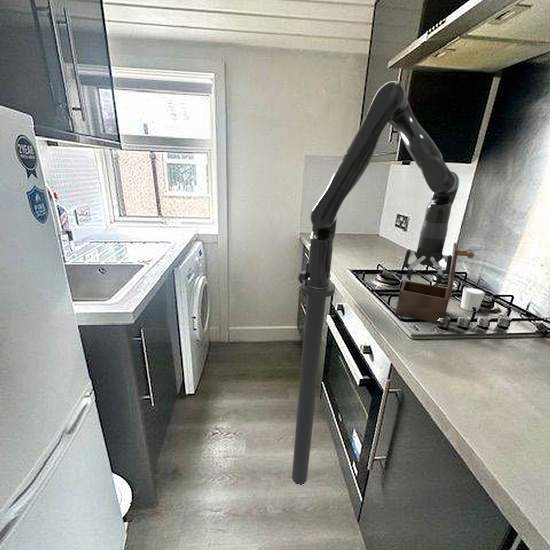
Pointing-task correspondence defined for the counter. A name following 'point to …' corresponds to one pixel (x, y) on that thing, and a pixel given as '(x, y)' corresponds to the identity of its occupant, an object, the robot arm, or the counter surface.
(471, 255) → the lid
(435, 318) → the chest
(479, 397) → the counter surface
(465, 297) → the white cup
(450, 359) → the counter surface
